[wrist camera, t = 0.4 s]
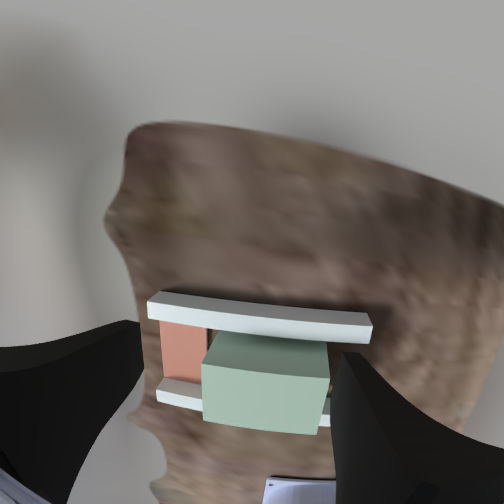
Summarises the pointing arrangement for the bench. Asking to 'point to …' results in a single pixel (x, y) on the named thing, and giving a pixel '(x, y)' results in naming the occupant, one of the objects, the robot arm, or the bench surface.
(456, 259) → the bench surface
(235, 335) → the block
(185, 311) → the channel
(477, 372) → the bench surface
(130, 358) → the robot arm
